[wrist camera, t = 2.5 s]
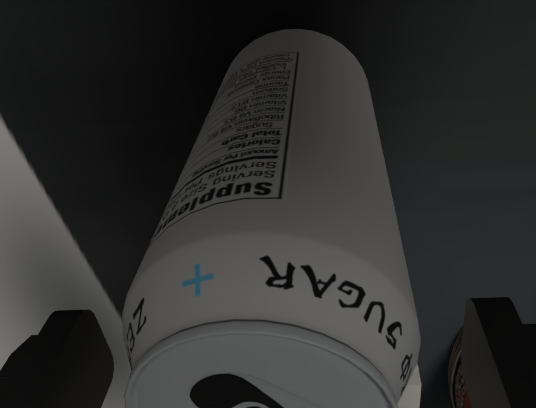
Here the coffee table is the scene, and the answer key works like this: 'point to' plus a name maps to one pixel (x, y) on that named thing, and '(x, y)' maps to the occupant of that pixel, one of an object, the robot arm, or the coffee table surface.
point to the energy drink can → (277, 248)
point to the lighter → (457, 377)
